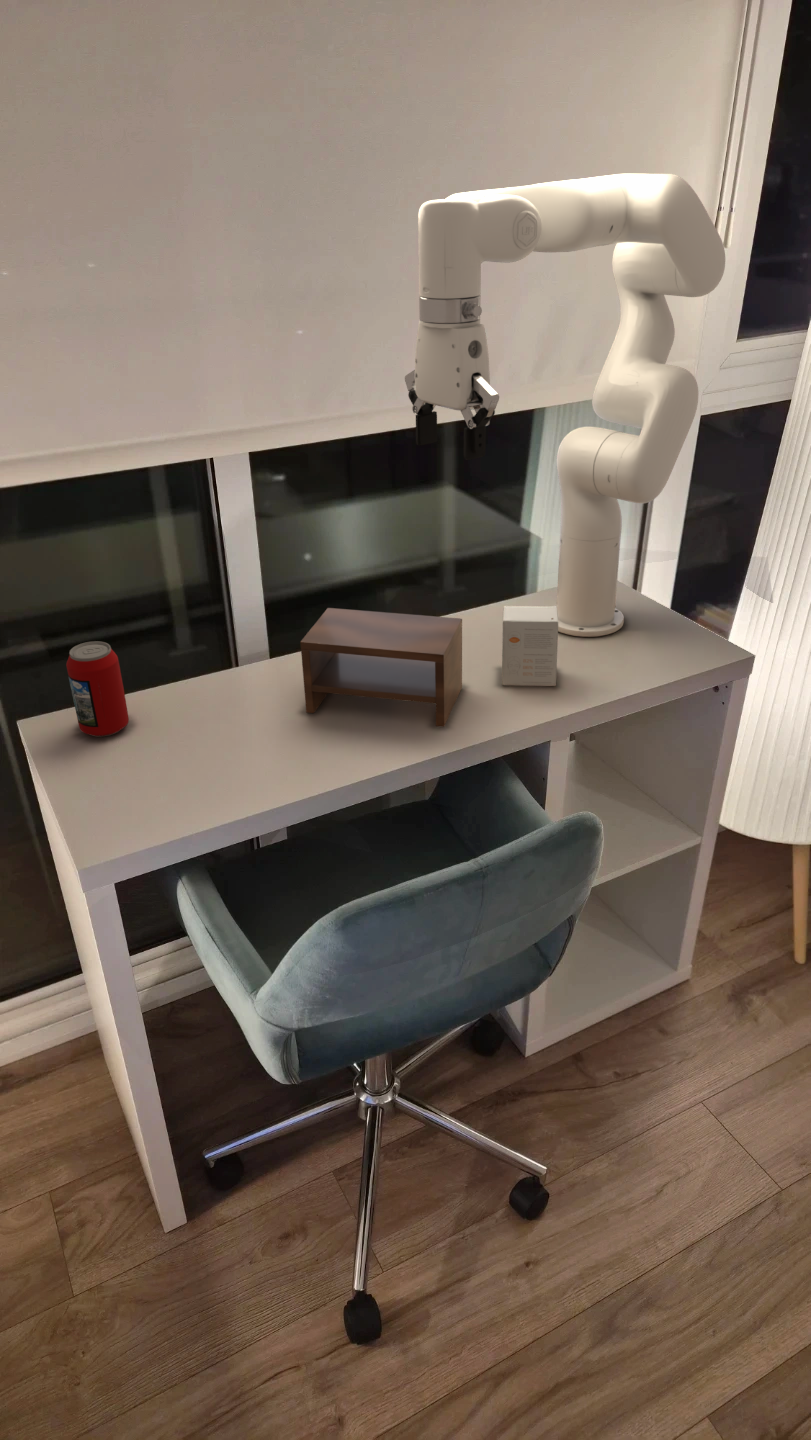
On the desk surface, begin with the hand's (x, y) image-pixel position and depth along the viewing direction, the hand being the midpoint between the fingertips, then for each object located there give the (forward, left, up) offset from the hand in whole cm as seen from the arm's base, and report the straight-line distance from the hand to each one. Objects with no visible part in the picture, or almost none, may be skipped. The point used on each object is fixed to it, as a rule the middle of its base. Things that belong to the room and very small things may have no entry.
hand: (450, 450), depth 136 cm
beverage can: (+22, -44, -35) cm, 61 cm away
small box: (-5, +11, -35) cm, 37 cm away
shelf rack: (+6, -8, -35) cm, 36 cm away
